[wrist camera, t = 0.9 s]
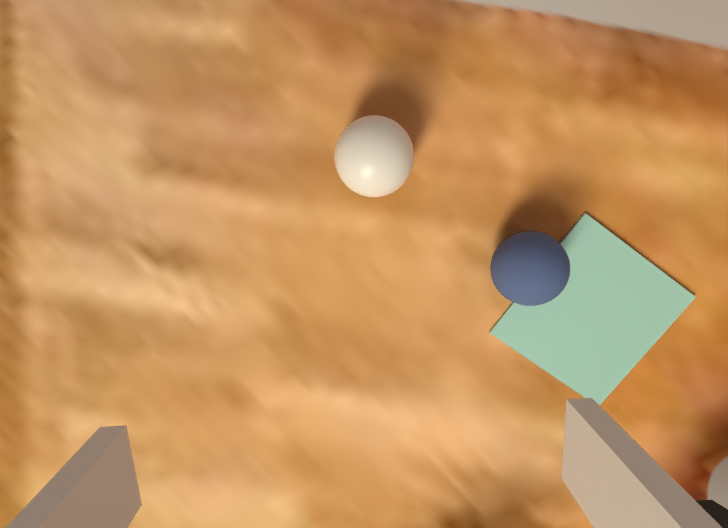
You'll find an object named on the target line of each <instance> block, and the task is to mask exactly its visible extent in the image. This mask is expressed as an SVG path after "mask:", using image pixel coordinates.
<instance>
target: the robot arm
mask: <svg viewBox="0 0 728 528" xmlns="http://www.w3.org/2000/svg"><path fill="white" fill-rule="evenodd" d="M562 480H563V481H564V483H565V484H566V486H567V487H568V489H569V491H570V492H571V494H572V495H573V497H574V498H575V500H576V501H577V503H578V504H579V506H580V507H581V509H582V510H583V512H584V513H585V515H586V516H587V518H588V519H589V521H590V522H591V524H592V525H593V527H594V528H728V510H727V509H726V508H724V507H723V506H721V505H719V504H718V503H716V502H714V501H713V500H702V501H695V500H694V499H693V498H692V497H691V496H690V495H689V494H688V493H687V492H686V491H685V490H684V489H683V488H682V487H681V486H680V485H679V484H678V483H677V482H676V481H675V480H674V479H673V478H672V477H671V476H670V475H669V474H668V473H667V472H666V471H665V470H664V469H663V468H662V467H661V466H660V465H659V464H658V463H657V462H656V461H655V460H654V459H653V458H652V457H651V456H650V455H649V454H648V453H647V452H646V451H645V450H644V449H643V448H642V447H641V446H640V445H639V444H638V443H637V442H636V441H635V440H634V439H633V438H632V437H631V436H630V435H629V434H628V433H627V432H626V431H625V430H624V429H623V428H622V427H621V426H620V425H618V424H617V423H616V422H615V421H614V420H613V419H612V418H611V417H610V416H609V415H608V414H607V413H606V412H605V411H604V410H603V409H602V408H601V407H600V406H599V405H598V404H597V403H596V402H595V401H594V400H593V399H592V398H584V399H567V401H566V417H565V433H564V449H563V465H562ZM141 505H142V504H141V498H140V493H139V488H138V483H137V478H136V473H135V467H134V462H133V457H132V452H131V447H130V442H129V437H128V431H127V426H111V427H100V428H99V429H98V430H97V431H96V432H95V433H94V434H93V435H92V436H91V438H90V439H89V440H88V441H87V442H86V443H85V444H84V445H83V446H82V447H81V448H80V449H79V450H78V451H77V452H76V454H75V455H74V456H73V457H72V458H71V459H70V460H69V461H68V462H67V463H66V464H65V465H64V466H63V467H62V468H61V469H60V471H59V472H58V473H57V474H56V475H55V476H54V477H53V478H52V479H51V480H50V481H49V482H48V483H47V484H46V485H45V487H44V488H43V489H42V490H41V491H40V492H39V493H38V494H37V495H36V496H35V497H34V498H33V499H32V500H31V501H30V503H29V504H28V505H27V506H26V507H25V508H24V509H23V510H22V511H21V512H20V513H19V514H18V515H17V516H16V517H15V519H14V520H13V521H12V522H11V523H10V524H9V525H8V526H7V527H6V528H128V526H129V525H130V523H131V521H132V520H133V518H134V516H135V515H136V513H137V511H138V510H139V508H140V507H141Z"/></svg>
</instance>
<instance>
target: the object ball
mask: <svg viewBox="0 0 728 528" xmlns="http://www.w3.org/2000/svg"><path fill="white" fill-rule="evenodd" d="M569 276H570V261H569V258H568V255H567V253H566V251H565V249H564V248H563V247H562V245H561V244H560V243H559V242H558V241H557V240H555V239H554V238H552V237H551V236H549V235H547V234H544V233H541V232H535V231H526V232H520V233H517V234H514V235H512V236H510V237H508V238H507V239H505V240H504V241H503V242H502V243H501V244H500V245H499V246H498V247H497V249H496V250H495V252H494V254H493V257H492V261H491V277H492V280H493V283H494V285H495V287H496V288H497V289H498V291H499V292H500V293H501V294H502V295H503V296H504V297H505V298H507V299H508V300H510V301H512V302H514V303H517V304H520V305H525V306H536V305H541V304H544V303H547V302H549V301H551V300H553V299H554V298H556V297H557V296H558V295H559V294H560V293H561V292H562V291H563V290H564V288H565V286H566V285H567V282H568V280H569Z"/></svg>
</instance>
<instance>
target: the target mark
mask: <svg viewBox="0 0 728 528" xmlns="http://www.w3.org/2000/svg"><path fill="white" fill-rule="evenodd" d="M560 244H561V245H562V247H563V248H564V249H565V251H566V253H567V255H568V258H569V261H570V276H569V280H568V282H567V285H566V286H565V288H564V290H563V291H562V292H561V293H560V294H559V295H558V296H557V297H556V298H554V299H553V300H551V301H549V302H547V303H544V304H541V305H536V306H525V305H520V304H517V303H514V302H513V303H512V304H511V305H510V306H509V308H508V309H507V310H506V311H505V313H504V314H503V315H502V316H501V318H500V319H499V320H498V321H497V323H496V324H495V325H494V326H493V328H492V329H491V330H490V331H489V333H491V334H492V335H494V336H495V337H497V338H498V339H499V340H501V341H502V342H504V343H505V344H507V345H508V346H510V347H511V348H513V349H514V350H516V351H517V352H519V353H520V354H522V355H523V356H524V357H526V358H527V359H529V360H530V361H532V362H533V363H535V364H536V365H538V366H539V367H541V368H542V369H544V370H545V371H546V372H548V373H549V374H551V375H552V376H554V377H555V378H557V379H558V380H560V381H561V382H563V383H564V384H566V385H567V386H569V387H570V388H571V389H573V390H574V391H576V392H577V393H579V394H580V395H582V396H583V397H585V398H592V399H593V400H594V401H595V402H596V403H597V404H598V405H600V404H601V403H602V402H603V401H604V400H605V399H606V398H607V396H608V395H609V394H610V393H611V392H612V391H613V390H614V389H615V387H616V386H617V385H618V384H619V383H620V382H621V381H622V380H623V378H624V377H625V376H626V375H627V374H628V373H629V372H630V371H631V369H632V368H633V367H634V366H635V365H636V364H637V363H638V362H639V360H640V359H641V358H642V357H643V356H644V355H645V354H646V353H647V351H648V350H649V349H650V348H651V347H652V346H653V345H654V344H655V342H656V341H657V340H658V339H659V338H660V337H661V336H662V335H663V333H664V332H665V331H666V330H667V329H668V328H669V327H670V326H671V324H672V323H673V322H674V321H675V320H676V319H677V318H678V317H679V315H680V314H681V313H682V312H683V311H684V310H685V309H686V308H687V306H688V305H689V304H690V303H691V302H692V301H693V300H694V299H695V296H694V295H693V294H691V293H690V292H689V291H687V290H686V289H685V288H683V287H682V286H681V285H680V284H678V283H677V282H676V281H674V280H673V279H672V278H670V277H669V276H668V275H666V274H665V273H664V272H662V271H661V270H660V269H658V268H657V267H656V266H655V265H653V264H652V263H651V262H649V261H648V260H647V259H645V258H644V257H643V256H641V255H640V254H639V253H637V252H636V251H635V250H633V249H632V248H631V247H630V246H628V245H627V244H626V243H624V242H623V241H622V240H620V239H619V238H618V237H616V236H615V235H614V234H612V233H611V232H610V231H608V230H607V229H606V228H605V227H603V226H602V225H601V224H599V223H598V222H597V221H595V220H594V219H593V218H591V217H590V216H589V215H587V214H586V213H584V214H583V215H582V216H581V218H580V219H579V220H578V221H577V223H576V224H575V225H574V226H573V228H572V229H571V230H570V231H569V233H568V234H567V235H566V236H565V238H564V239H563V240H562V241H561V243H560Z"/></svg>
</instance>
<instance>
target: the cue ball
mask: <svg viewBox="0 0 728 528" xmlns="http://www.w3.org/2000/svg"><path fill="white" fill-rule="evenodd" d="M334 159H335V166H336V169H337V172H338V174H339V176H340V178H341V180H342V181H343V182H344V184H345V185H346V186H347V187H349V188H350V189H351V190H352V191H354V192H356V193H358V194H360V195H363V196H368V197H381V196H385V195H388V194H390V193H392V192H394V191H396V190H397V189H398V188H400V187H401V186H402V185H403V184H404V183H405V181H406V180H407V178H408V177H409V175H410V173H411V170H412V167H413V163H414V149H413V144H412V142H411V139H410V137H409V135H408V133H407V132H406V131H405V129H404V128H403V127H402V126H401V125H400V124H398V123H397V122H396V121H394V120H392V119H390V118H388V117H384V116H379V115H370V116H365V117H361V118H359V119H357V120H355V121H353V122H352V123H351V124H349V125H348V126H347V127H346V128H345V129H344V130H343V132H342V133H341V135H340V137H339V138H338V141H337V143H336V147H335V155H334Z"/></svg>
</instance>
